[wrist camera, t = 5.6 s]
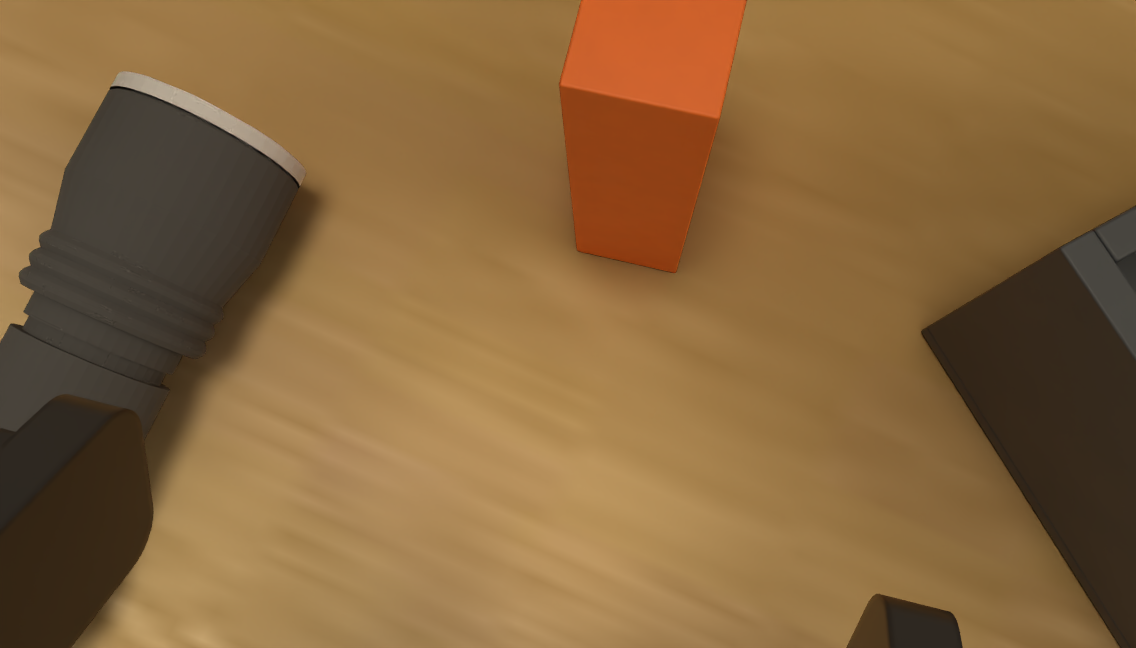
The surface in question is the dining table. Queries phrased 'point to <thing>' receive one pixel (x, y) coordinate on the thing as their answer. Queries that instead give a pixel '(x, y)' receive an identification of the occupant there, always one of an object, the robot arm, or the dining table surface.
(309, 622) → the dining table surface
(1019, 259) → the dining table surface
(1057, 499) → the trash bin
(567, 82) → the block
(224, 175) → the flashlight
